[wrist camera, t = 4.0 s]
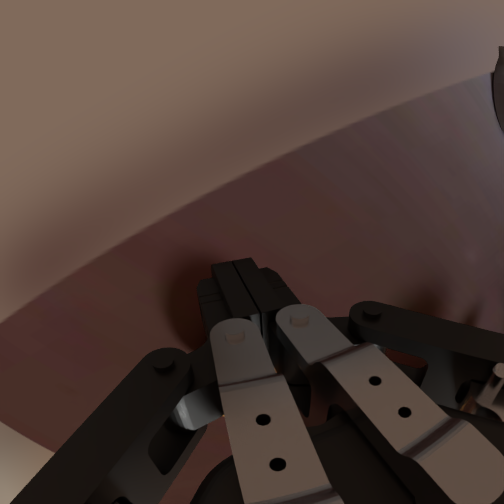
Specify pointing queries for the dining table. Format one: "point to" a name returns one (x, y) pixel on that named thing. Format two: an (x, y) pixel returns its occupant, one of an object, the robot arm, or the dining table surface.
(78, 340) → the dining table surface
